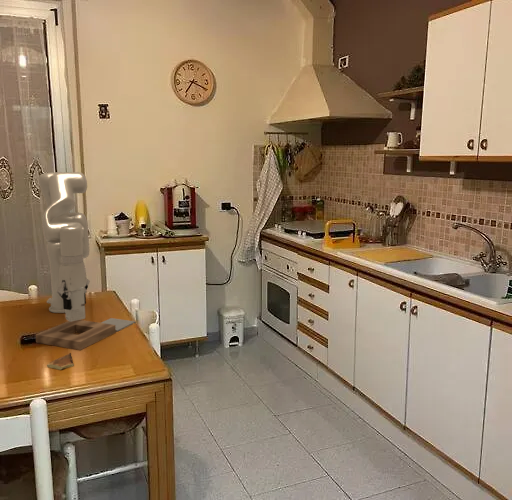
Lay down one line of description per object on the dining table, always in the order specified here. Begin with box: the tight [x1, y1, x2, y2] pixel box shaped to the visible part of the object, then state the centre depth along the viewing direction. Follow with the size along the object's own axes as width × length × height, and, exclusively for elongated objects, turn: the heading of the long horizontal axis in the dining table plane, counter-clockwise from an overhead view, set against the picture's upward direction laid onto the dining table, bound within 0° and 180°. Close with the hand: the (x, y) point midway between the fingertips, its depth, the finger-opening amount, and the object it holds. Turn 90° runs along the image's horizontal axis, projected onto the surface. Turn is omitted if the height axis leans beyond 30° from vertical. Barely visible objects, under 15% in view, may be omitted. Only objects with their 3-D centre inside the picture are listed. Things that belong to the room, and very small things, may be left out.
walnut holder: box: [35, 319, 117, 351], centre depth 194 cm, size 20×20×3 cm
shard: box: [46, 352, 75, 371], centre depth 171 cm, size 11×8×2 cm
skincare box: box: [64, 287, 86, 322], centre depth 193 cm, size 6×4×12 cm
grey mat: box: [100, 317, 136, 333], centre depth 209 cm, size 12×12×1 cm
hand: (75, 306), depth 193 cm, fingers closed on skincare box, 7 cm apart
